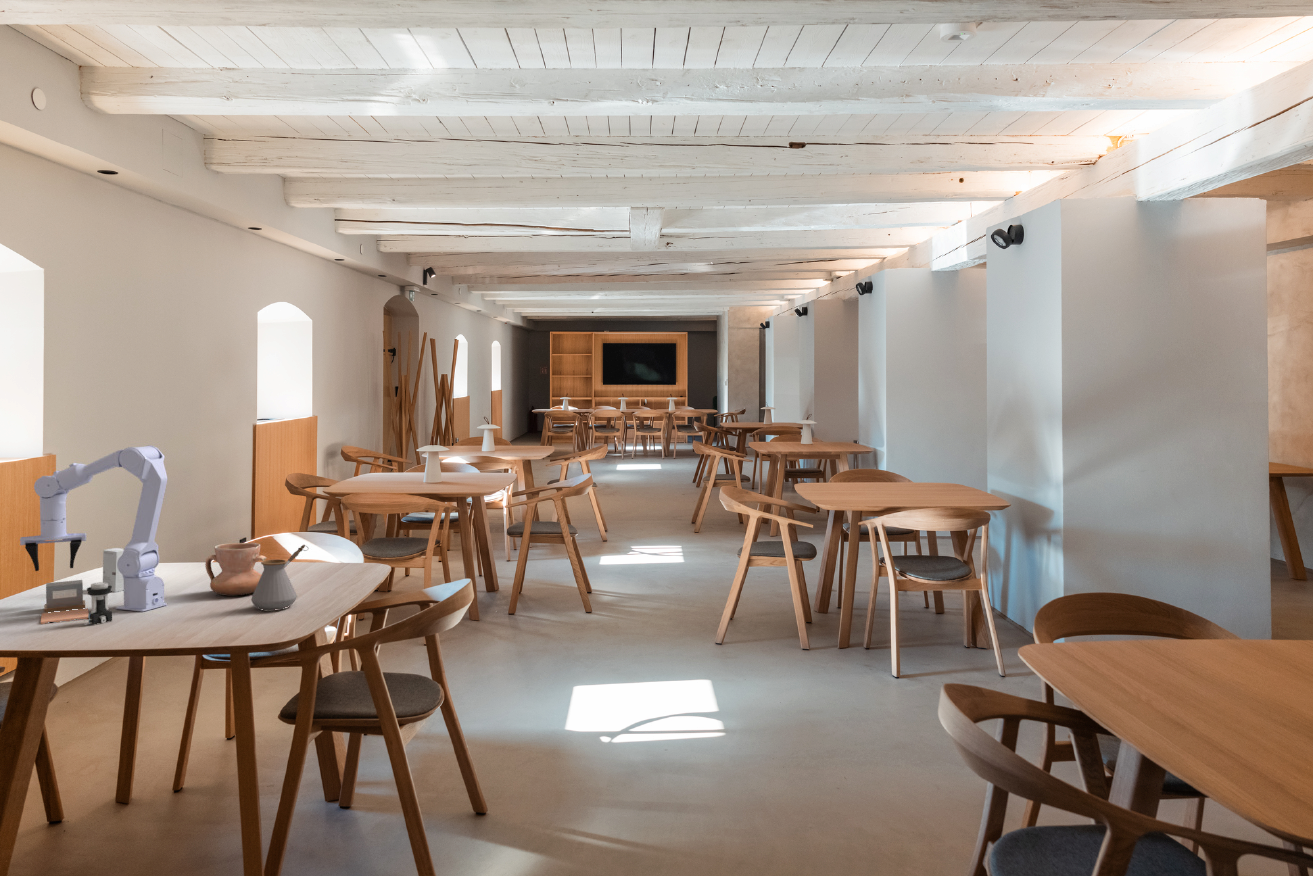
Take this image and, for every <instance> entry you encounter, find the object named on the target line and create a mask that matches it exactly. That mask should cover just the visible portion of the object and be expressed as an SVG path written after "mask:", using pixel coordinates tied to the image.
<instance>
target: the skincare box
mask: <svg viewBox="0 0 1313 876" xmlns="http://www.w3.org/2000/svg"><path fill="white" fill-rule="evenodd" d="M123 551H124V548H119V547H113V548H108V549H103V552H102V556H103V557H102V582H106V583H108V585H109V586H112V588H111V591H112V592H111V593H118V591H119V592H123V591H122V590H124V581H123V575H122V574H121V573H120V572H119V570H118V567H117V562H118V559H119V558H120V557H121V556H122V554H123Z"/></svg>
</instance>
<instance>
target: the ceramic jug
mask: <svg viewBox="0 0 1313 876" xmlns="http://www.w3.org/2000/svg"><path fill="white" fill-rule="evenodd" d="M260 551H261V544H260V543H256V542H237V543H236V542H234V543H233V542H232V543H222V544H221V543H220V544H218V545H217V544H216V545H215V546H214V554H212V555H209V556H208V557H207V558H206V559H205V563H204V566H205V571H206V573H207V575H208V577H209V579H210V583H209V587H210V589H211V591H212V592H214V593H215V594H219V595H222V596H227V597H231V596H232V597H233V596H234V597H237V596H238V595H239V596H245V594H246V595H250V594H253V593H254V591H255V589H256V587H257V584H258V582H259V580H260V578H261V575H262V574H261V573H260V572H258V571H256V570H255V569H254V567H255V565H256V563H257V562H259V561H261V562H263V561H266V559H267V556H265V555H260ZM212 561H215V562H217V563H218V565H219V567H220V569H221V572H219V574H217V575H216V576H215V574H214V571H212V570H213V569H212ZM239 596H238V597H239Z"/></svg>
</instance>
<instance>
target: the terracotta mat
mask: <svg viewBox="0 0 1313 876" xmlns="http://www.w3.org/2000/svg"><path fill="white" fill-rule="evenodd" d="M88 615H89V609H88V607H87V608H85V609H78V610H69V611H60V612H51V613H44V612H43V613H41V618H40V625H46V624H45V623H48V622H57V623H61V622H60V621H66V622H71V621H70V620H74V619H83V620H87V619H86V618H88ZM74 621H75V620H74Z"/></svg>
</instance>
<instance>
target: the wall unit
mask: <svg viewBox="0 0 1313 876" xmlns="http://www.w3.org/2000/svg"><path fill="white" fill-rule="evenodd" d="M83 582H84V581H83V579H76V580H66V581H64V580H63V581H57V582H55V581H54V582H47V583H45V597H46V599H45V601H46V604H45V603H44V606H43V607H44V608H43V613H48V612H54V611H66V610H72V609H83V608H85V609H86V600H85V599H84V598H83V597H84V593H83V591H84V589H83V588H84V587H83V586H84V583H83Z"/></svg>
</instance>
